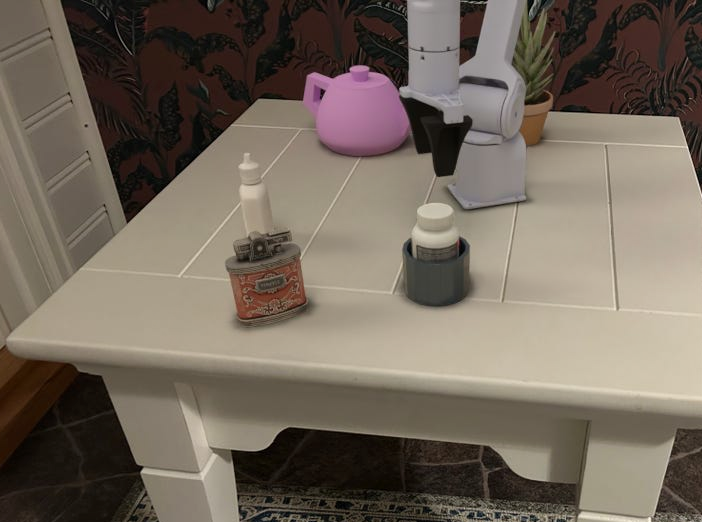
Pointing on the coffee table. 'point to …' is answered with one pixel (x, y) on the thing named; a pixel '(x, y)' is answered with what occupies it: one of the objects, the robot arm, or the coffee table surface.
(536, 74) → the potted plant
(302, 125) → the coffee table surface
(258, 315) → the lighter
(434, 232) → the pill bottle
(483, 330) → the coffee table surface
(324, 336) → the coffee table surface
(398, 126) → the teapot
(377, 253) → the coffee table surface
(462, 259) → the tube
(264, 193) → the eye dropper bottle
